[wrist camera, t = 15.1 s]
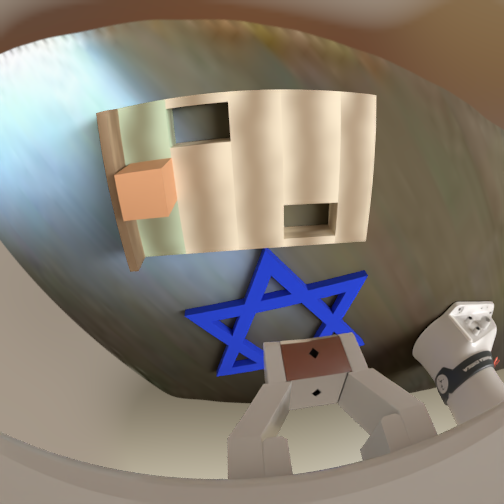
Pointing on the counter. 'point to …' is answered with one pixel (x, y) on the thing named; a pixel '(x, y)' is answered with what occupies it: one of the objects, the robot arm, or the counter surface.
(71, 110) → the counter surface
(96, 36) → the counter surface
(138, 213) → the block
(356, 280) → the symbol
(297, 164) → the board
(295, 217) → the counter surface
